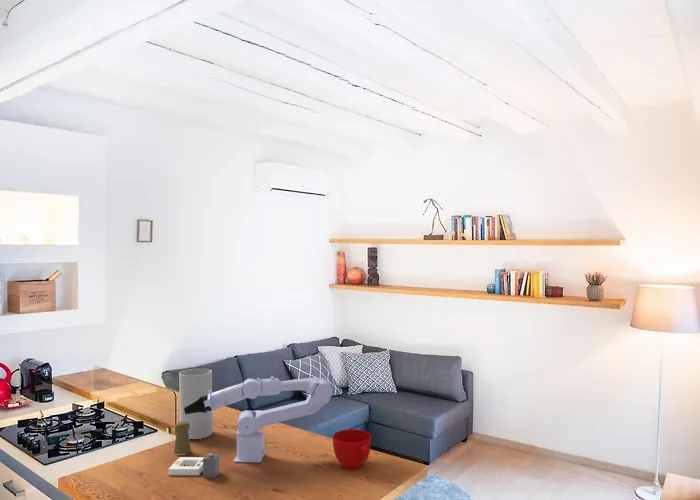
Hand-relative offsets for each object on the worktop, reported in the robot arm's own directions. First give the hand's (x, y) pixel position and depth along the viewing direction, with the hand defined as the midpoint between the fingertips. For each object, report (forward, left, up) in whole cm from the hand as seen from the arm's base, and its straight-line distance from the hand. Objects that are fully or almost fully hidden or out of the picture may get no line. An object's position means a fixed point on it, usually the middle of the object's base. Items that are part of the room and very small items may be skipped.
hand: (186, 410), depth 185 cm
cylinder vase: (+6, -28, -18) cm, 34 cm away
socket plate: (-2, +5, -18) cm, 19 cm away
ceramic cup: (-58, +2, -18) cm, 61 cm away
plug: (-11, +9, -18) cm, 23 cm away
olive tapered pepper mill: (+5, -10, -18) cm, 21 cm away
